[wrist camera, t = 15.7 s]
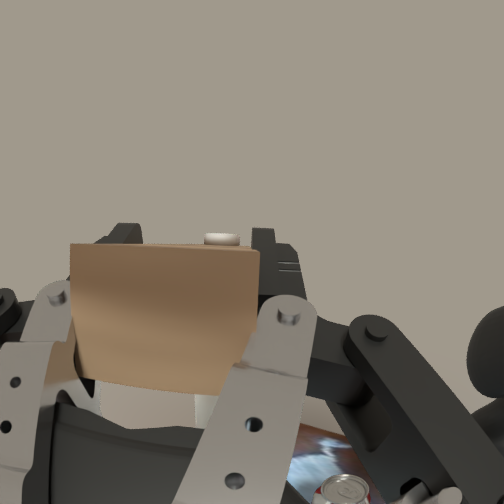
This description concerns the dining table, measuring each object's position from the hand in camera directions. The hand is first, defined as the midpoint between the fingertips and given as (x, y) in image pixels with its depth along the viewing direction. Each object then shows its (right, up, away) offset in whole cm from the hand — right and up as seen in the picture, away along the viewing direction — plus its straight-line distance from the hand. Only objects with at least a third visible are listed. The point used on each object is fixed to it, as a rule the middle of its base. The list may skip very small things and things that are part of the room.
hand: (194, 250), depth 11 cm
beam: (0, -3, +8) cm, 8 cm away
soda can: (+12, -38, +16) cm, 43 cm away
